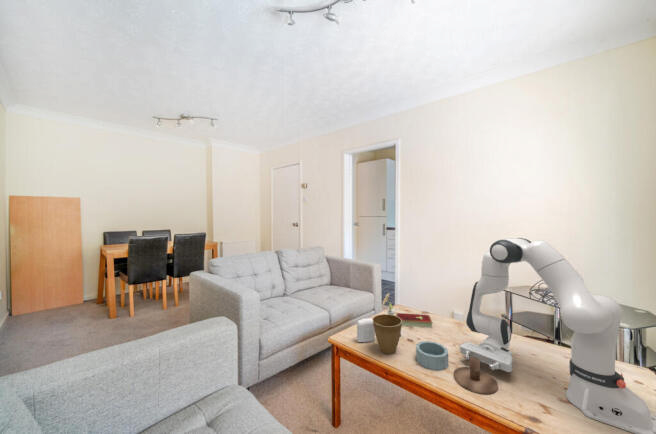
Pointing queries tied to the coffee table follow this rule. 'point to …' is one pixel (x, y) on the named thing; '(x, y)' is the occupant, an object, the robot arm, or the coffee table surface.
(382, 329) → the plant pot
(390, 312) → the flower in vase
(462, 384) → the walnut lid
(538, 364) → the coffee table surface
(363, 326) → the photo printer
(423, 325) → the hardcover book
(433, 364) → the ceramic bowl
